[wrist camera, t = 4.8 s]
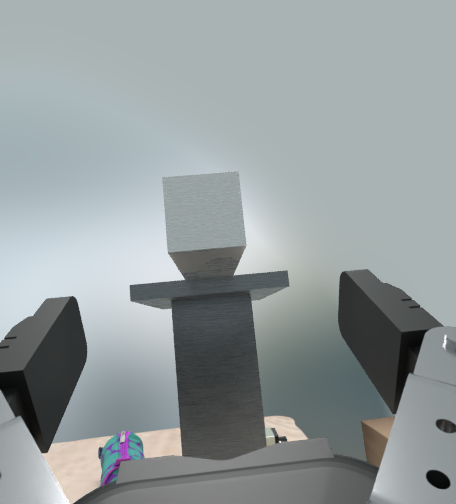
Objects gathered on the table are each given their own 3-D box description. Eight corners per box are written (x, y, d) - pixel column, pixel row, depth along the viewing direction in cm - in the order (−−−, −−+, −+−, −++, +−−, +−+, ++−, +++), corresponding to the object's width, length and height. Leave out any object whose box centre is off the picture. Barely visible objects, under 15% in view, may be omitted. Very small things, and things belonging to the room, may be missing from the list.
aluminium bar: (246, 245, 15) (238, 171, 16) (167, 252, 15) (162, 177, 15) (225, 293, 41) (222, 264, 41) (196, 296, 40) (193, 267, 41)
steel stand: (366, 902, 20) (287, 270, 25) (165, 939, 19) (129, 285, 25) (297, 643, 35) (258, 290, 41) (186, 660, 35) (162, 299, 40)
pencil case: (99, 482, 78) (97, 431, 80) (144, 473, 81) (141, 424, 83) (99, 532, 59) (96, 463, 61) (158, 517, 62) (154, 452, 64)
